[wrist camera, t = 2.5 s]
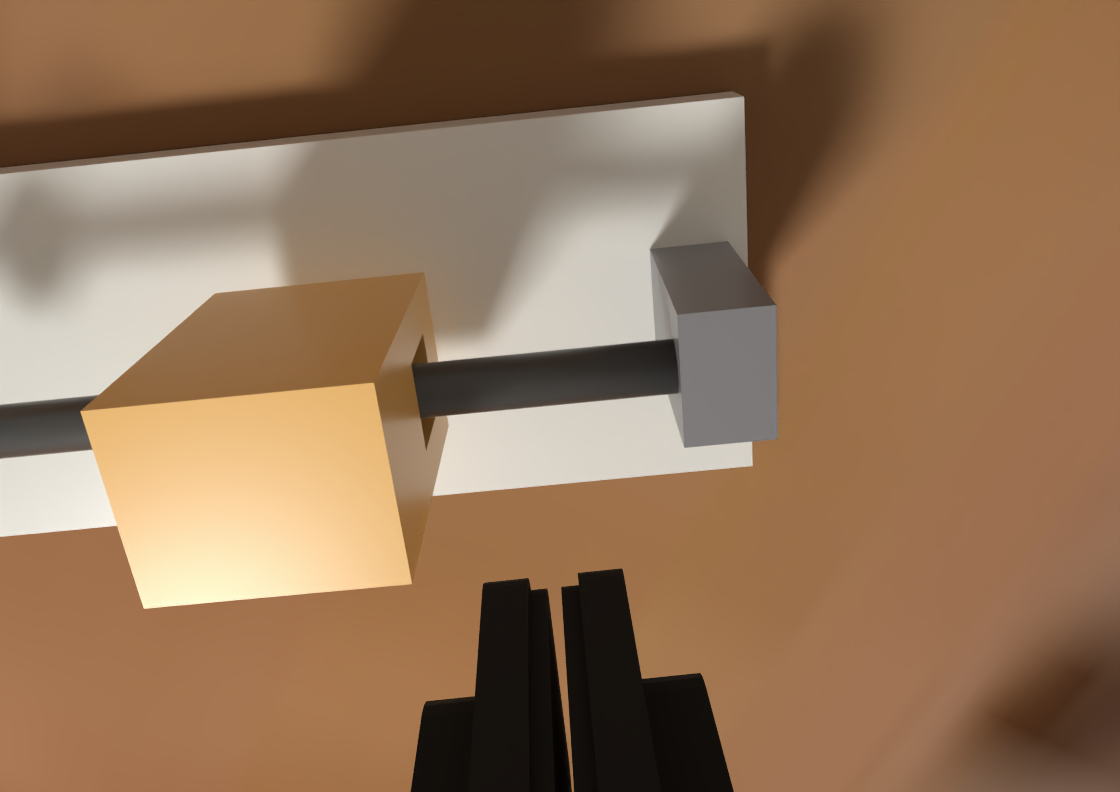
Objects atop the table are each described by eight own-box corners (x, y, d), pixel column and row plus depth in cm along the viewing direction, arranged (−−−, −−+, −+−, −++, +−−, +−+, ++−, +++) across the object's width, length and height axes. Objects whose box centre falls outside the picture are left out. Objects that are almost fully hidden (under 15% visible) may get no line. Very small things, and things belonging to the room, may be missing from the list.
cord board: (732, 91, 24) (831, 137, 16) (742, 442, 28) (825, 629, 20) (-294, 198, 25) (-718, 297, 16) (-147, 527, 29) (-430, 741, 20)
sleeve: (423, 272, 22) (374, 382, 16) (448, 426, 24) (412, 584, 17) (215, 293, 22) (80, 411, 16) (253, 444, 24) (143, 608, 17)
